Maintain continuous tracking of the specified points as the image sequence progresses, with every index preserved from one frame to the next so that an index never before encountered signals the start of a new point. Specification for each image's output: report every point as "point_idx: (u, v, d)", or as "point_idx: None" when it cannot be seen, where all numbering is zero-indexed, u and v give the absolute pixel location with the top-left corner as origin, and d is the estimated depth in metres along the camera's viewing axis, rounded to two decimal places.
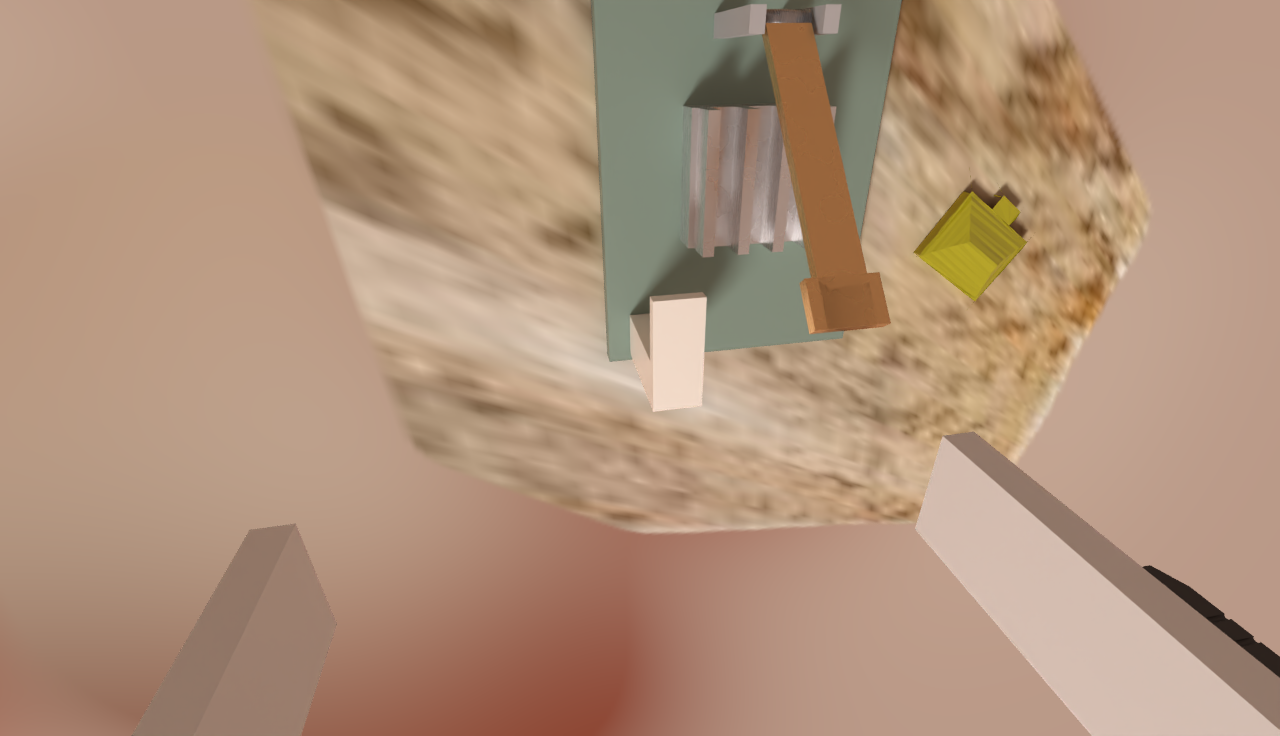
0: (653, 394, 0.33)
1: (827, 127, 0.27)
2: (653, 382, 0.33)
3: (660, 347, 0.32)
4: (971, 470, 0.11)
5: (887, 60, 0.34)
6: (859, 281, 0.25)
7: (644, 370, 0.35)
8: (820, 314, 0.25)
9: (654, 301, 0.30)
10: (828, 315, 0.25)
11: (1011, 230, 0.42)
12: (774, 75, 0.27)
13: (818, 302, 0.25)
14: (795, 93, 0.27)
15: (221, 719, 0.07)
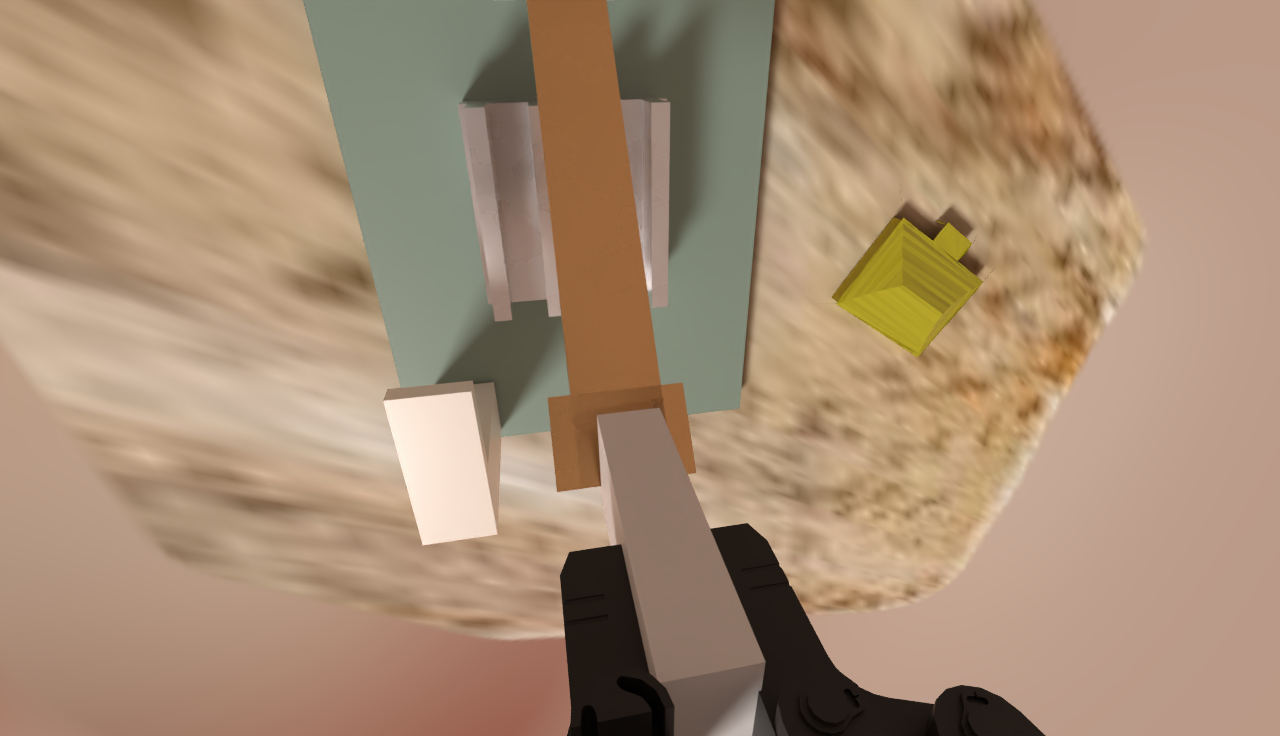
0: (418, 523, 0.23)
1: (612, 136, 0.16)
2: (414, 507, 0.22)
3: (412, 462, 0.21)
4: (635, 441, 0.12)
5: (766, 35, 0.24)
6: (646, 401, 0.15)
7: None
8: (569, 461, 0.14)
9: (386, 399, 0.20)
10: (584, 463, 0.14)
11: (961, 267, 0.31)
12: None
13: (568, 440, 0.14)
14: (562, 80, 0.16)
15: None
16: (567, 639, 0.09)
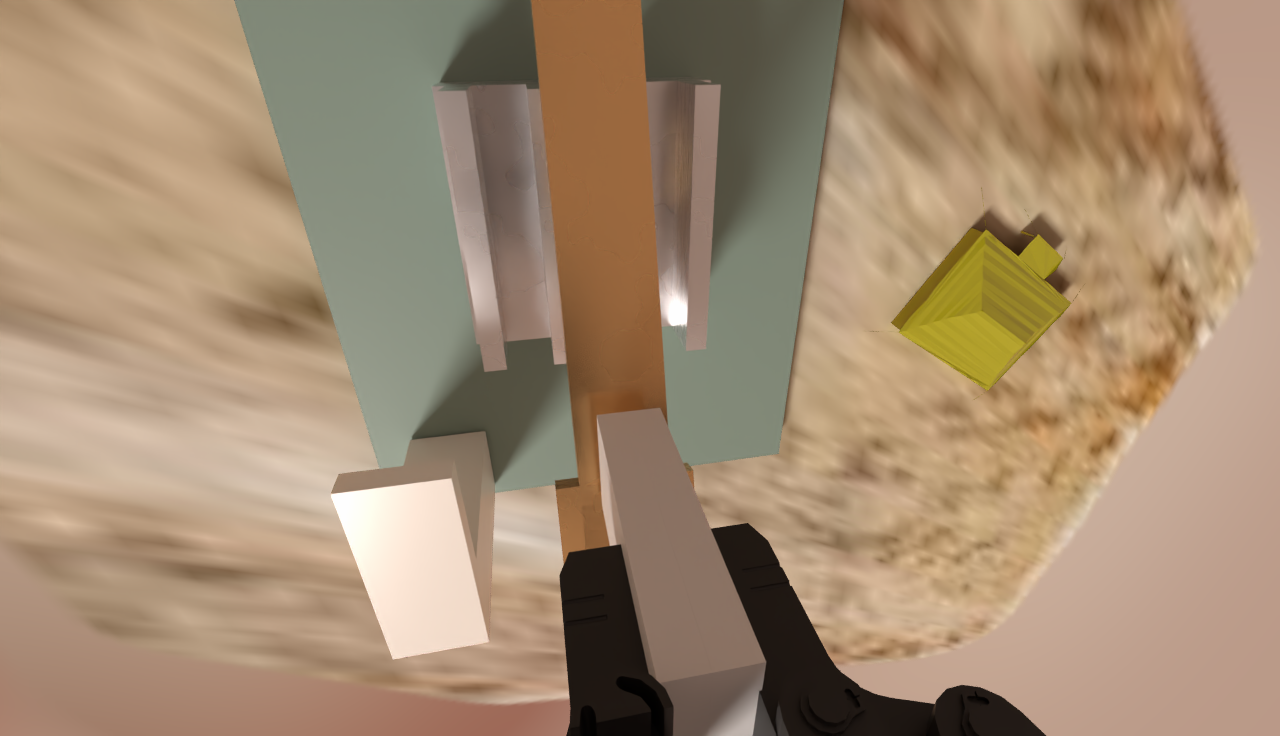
0: (385, 634, 0.17)
1: (636, 179, 0.13)
2: (379, 617, 0.17)
3: (374, 566, 0.16)
4: (636, 440, 0.12)
5: None
6: None
7: None
8: (577, 548, 0.15)
9: (334, 492, 0.15)
10: None
11: (1047, 287, 0.26)
12: None
13: (576, 528, 0.15)
14: (575, 94, 0.13)
15: None
16: (566, 639, 0.09)
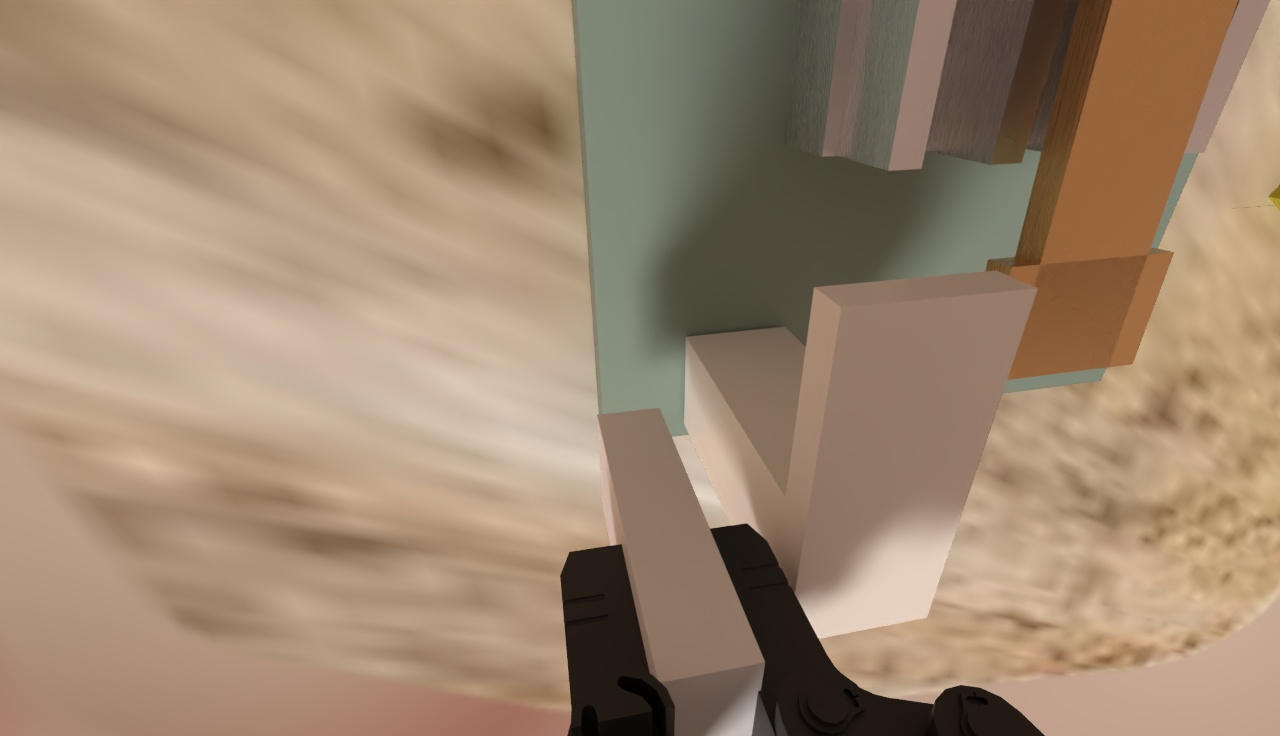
0: None
1: None
2: (798, 570, 0.10)
3: (840, 468, 0.09)
4: (635, 441, 0.12)
5: None
6: (1122, 276, 0.11)
7: (745, 499, 0.12)
8: None
9: (845, 305, 0.08)
10: (1022, 351, 0.11)
11: None
12: None
13: None
14: None
15: None
16: (567, 639, 0.09)
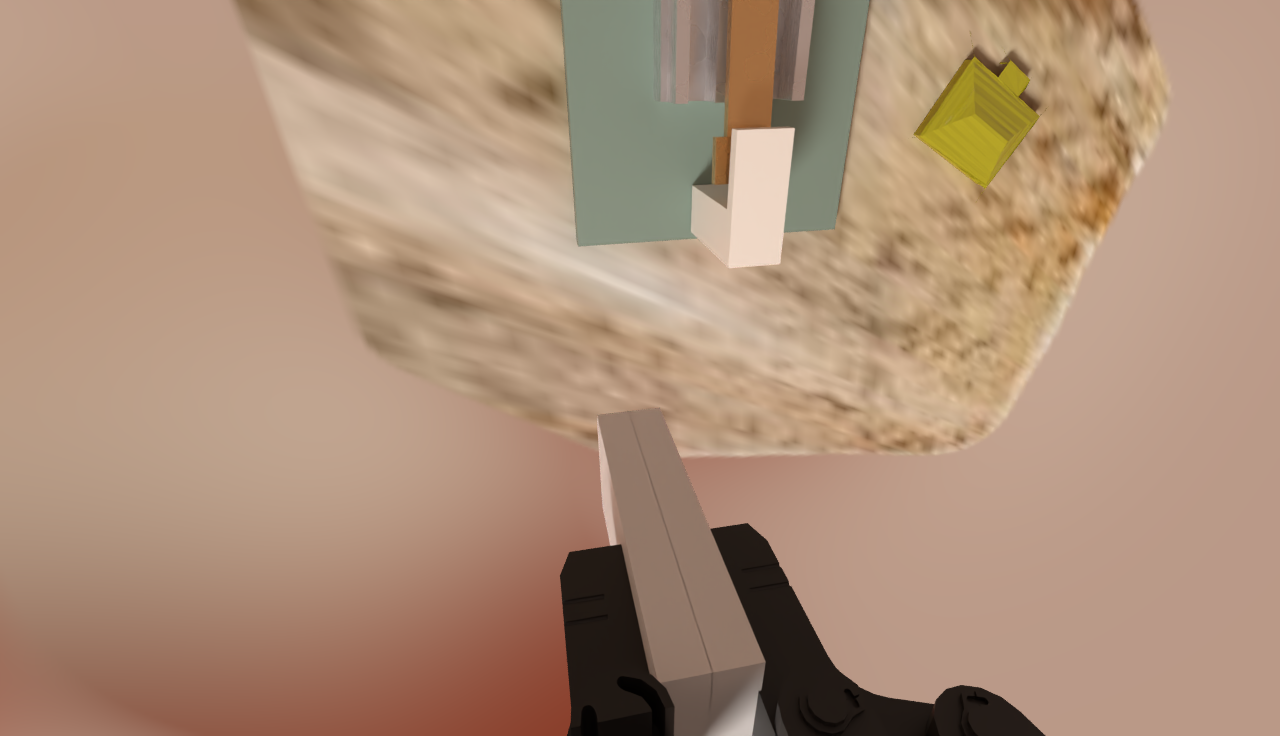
0: (730, 247, 0.30)
1: None
2: (731, 232, 0.30)
3: (741, 188, 0.29)
4: (635, 440, 0.12)
5: None
6: None
7: (715, 230, 0.32)
8: (722, 171, 0.30)
9: (738, 129, 0.28)
10: (728, 172, 0.30)
11: (1021, 102, 0.38)
12: None
13: (723, 160, 0.30)
14: None
15: None
16: (567, 639, 0.09)
